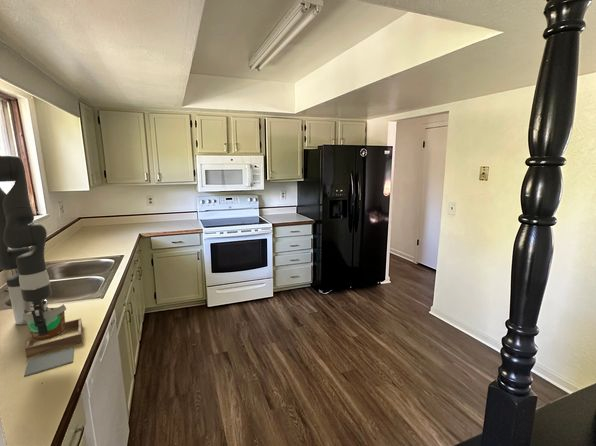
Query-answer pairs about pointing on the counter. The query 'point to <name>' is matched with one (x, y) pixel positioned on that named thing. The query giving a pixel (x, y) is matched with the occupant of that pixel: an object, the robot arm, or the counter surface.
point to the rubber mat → (49, 361)
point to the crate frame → (56, 343)
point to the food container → (47, 323)
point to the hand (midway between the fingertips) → (44, 330)
